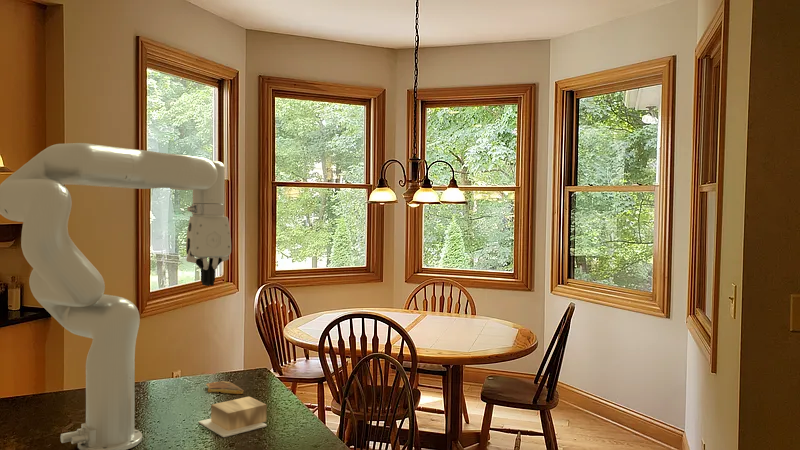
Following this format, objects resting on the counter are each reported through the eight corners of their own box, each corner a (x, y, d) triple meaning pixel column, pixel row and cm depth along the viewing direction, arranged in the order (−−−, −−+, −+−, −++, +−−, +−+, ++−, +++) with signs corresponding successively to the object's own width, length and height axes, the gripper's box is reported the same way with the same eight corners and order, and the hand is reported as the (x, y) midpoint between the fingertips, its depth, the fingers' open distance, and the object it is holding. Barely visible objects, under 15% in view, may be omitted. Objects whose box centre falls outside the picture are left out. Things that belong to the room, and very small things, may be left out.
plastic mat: (223, 437, 145) (223, 435, 145) (198, 422, 153) (198, 421, 153) (266, 426, 152) (266, 424, 152) (240, 412, 161) (240, 411, 161)
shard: (244, 395, 176) (244, 389, 176) (216, 400, 172) (216, 393, 171) (229, 385, 185) (229, 379, 185) (202, 390, 180) (202, 383, 180)
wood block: (266, 421, 154) (227, 430, 147) (249, 412, 160) (211, 421, 153) (266, 404, 154) (227, 413, 147) (249, 396, 160) (211, 404, 153)
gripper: (186, 211, 153) (185, 289, 154) (243, 211, 163) (242, 284, 164) (172, 210, 159) (172, 285, 160) (228, 210, 169) (228, 281, 170)
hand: (207, 284), depth 162 cm, fingers closed
